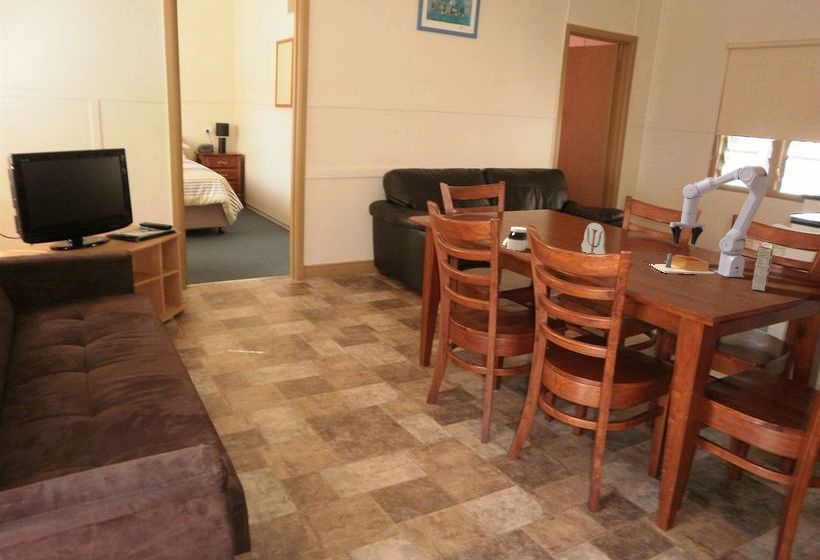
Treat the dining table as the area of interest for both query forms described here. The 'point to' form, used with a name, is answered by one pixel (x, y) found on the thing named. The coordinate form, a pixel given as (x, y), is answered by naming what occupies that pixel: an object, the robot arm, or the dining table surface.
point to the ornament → (590, 239)
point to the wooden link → (689, 263)
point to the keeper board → (676, 268)
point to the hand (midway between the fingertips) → (684, 244)
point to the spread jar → (517, 239)
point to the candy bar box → (762, 267)
